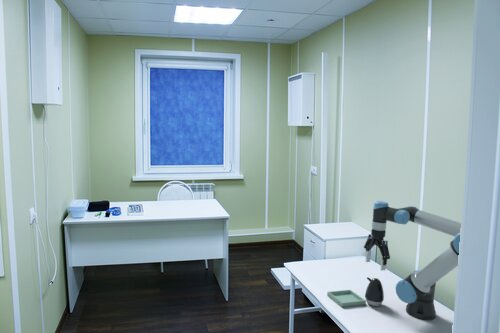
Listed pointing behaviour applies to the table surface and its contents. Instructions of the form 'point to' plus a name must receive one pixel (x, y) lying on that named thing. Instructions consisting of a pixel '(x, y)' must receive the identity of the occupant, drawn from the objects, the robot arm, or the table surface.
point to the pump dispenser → (374, 292)
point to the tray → (346, 298)
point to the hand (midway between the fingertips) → (375, 265)
